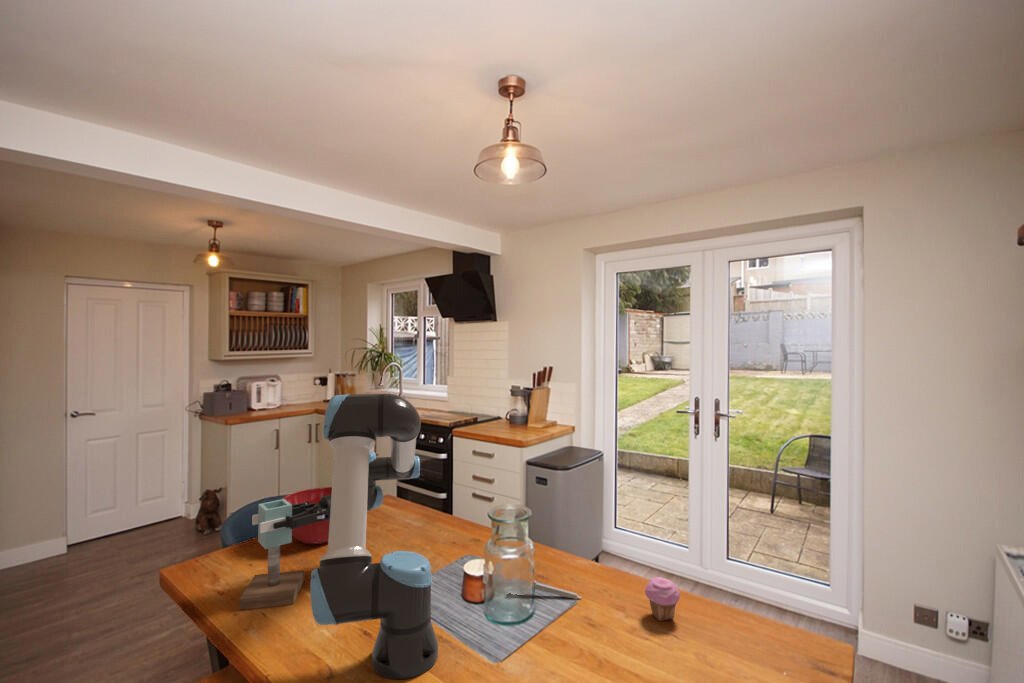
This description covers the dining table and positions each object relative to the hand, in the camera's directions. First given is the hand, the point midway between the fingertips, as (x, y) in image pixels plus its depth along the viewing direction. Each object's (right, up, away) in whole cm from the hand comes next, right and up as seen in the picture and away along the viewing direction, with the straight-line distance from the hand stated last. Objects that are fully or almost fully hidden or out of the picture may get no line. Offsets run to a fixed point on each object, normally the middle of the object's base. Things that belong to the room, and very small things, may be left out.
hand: (256, 524), depth 137 cm
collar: (+4, -7, +3) cm, 8 cm away
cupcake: (+114, -22, -8) cm, 117 cm away
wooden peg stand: (+4, -22, +3) cm, 22 cm away
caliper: (+84, -23, +3) cm, 87 cm away
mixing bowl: (+1, -22, +44) cm, 49 cm away
